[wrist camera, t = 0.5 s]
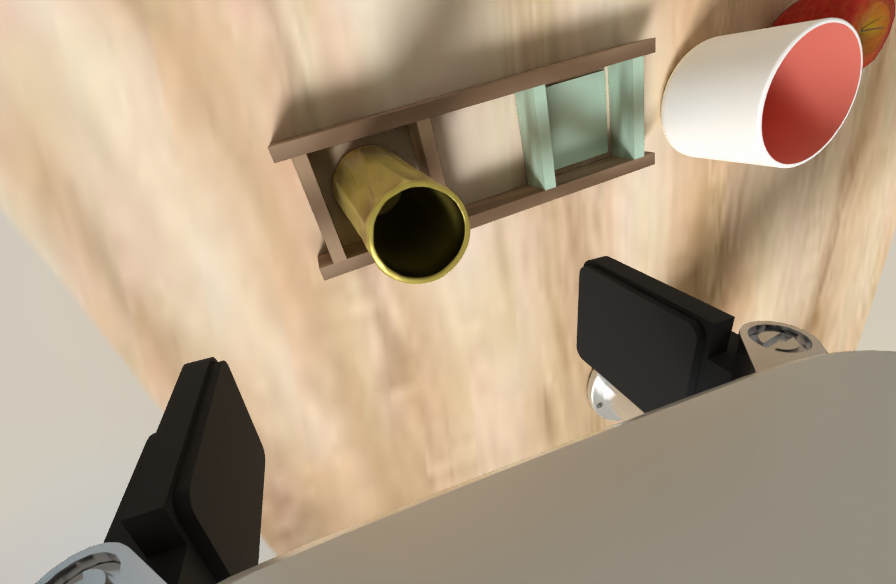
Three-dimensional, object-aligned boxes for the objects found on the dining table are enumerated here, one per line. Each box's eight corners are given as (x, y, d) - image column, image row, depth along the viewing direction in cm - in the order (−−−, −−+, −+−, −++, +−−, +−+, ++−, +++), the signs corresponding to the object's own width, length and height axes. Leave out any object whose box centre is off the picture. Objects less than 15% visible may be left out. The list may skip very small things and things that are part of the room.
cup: (637, 142, 39) (736, 153, 30) (681, 22, 35) (806, -6, 27) (709, 164, 42) (816, 179, 34) (755, 57, 39) (885, 43, 31)
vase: (332, 141, 30) (358, 165, 18) (413, 148, 32) (487, 174, 20) (332, 223, 32) (356, 295, 20) (408, 225, 34) (471, 291, 22)
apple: (810, -28, 38) (923, -57, 31) (816, 57, 41) (917, 47, 35) (744, 23, 37) (843, 4, 31) (756, 103, 41) (846, 102, 35)
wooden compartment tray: (630, 160, 39) (654, 164, 36) (322, 267, 33) (324, 280, 31) (628, 42, 34) (655, 37, 32) (270, 143, 29) (267, 147, 26)
